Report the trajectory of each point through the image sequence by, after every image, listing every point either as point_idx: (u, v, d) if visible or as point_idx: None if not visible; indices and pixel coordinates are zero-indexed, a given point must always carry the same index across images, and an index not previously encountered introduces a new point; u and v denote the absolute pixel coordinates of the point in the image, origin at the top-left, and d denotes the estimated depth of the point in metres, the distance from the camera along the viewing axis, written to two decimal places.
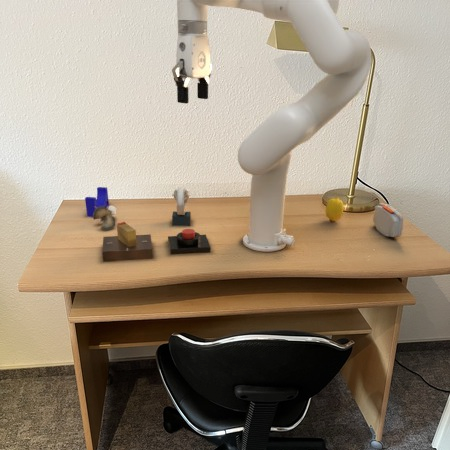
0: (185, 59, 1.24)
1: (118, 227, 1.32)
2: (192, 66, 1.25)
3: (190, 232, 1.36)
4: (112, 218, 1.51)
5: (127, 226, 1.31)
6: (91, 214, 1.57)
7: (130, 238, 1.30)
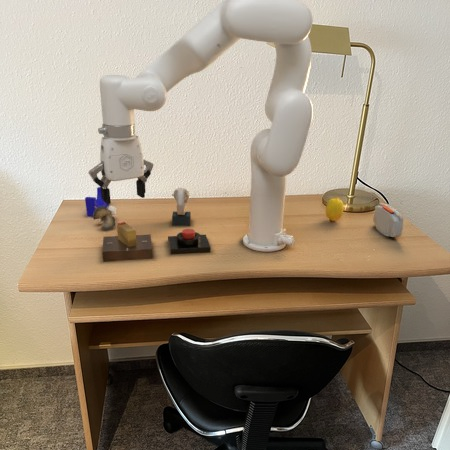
0: (104, 162, 1.19)
1: (118, 227, 1.32)
2: (110, 169, 1.19)
3: (190, 232, 1.36)
4: (112, 218, 1.51)
5: (127, 226, 1.31)
6: (91, 214, 1.57)
7: (130, 238, 1.30)
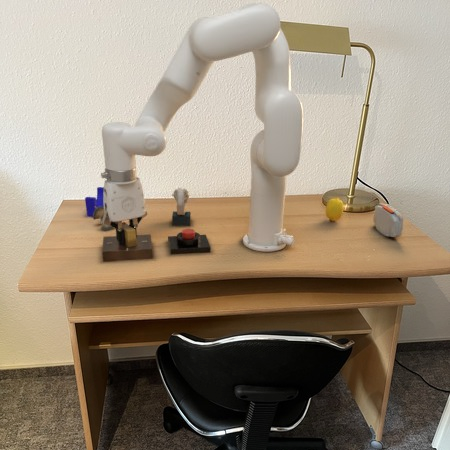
0: (107, 204, 1.24)
1: None
2: (113, 211, 1.24)
3: (190, 232, 1.36)
4: None
5: (127, 226, 1.31)
6: (91, 214, 1.57)
7: (130, 238, 1.30)
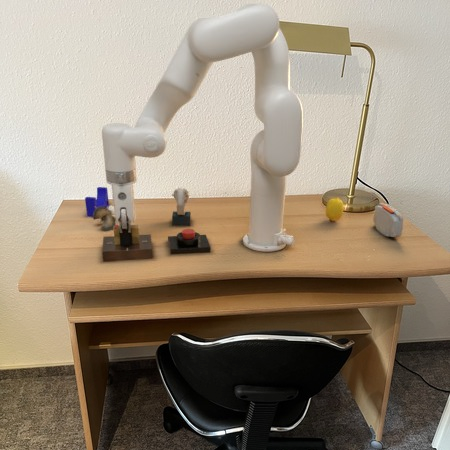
0: (127, 207, 1.23)
1: (117, 231, 1.30)
2: (134, 212, 1.25)
3: (190, 232, 1.36)
4: (112, 218, 1.51)
5: None
6: (91, 214, 1.57)
7: (138, 234, 1.32)
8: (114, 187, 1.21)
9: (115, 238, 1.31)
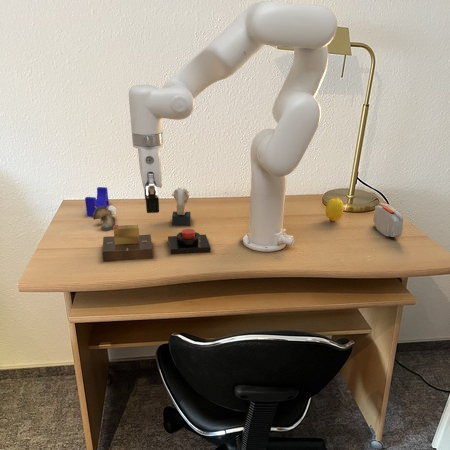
0: (154, 171, 1.21)
1: (117, 231, 1.30)
2: (161, 177, 1.23)
3: (190, 232, 1.36)
4: (112, 218, 1.51)
5: (126, 226, 1.31)
6: (91, 214, 1.57)
7: (138, 234, 1.32)
8: (141, 151, 1.19)
9: (115, 238, 1.31)
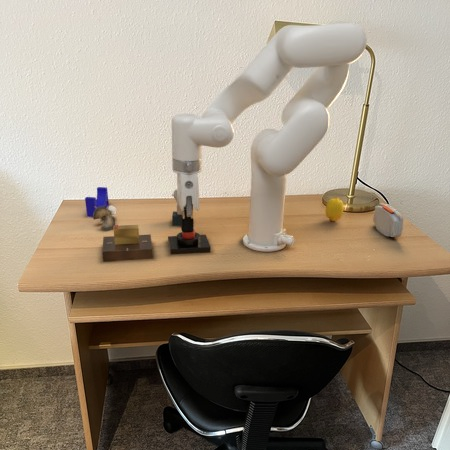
0: (193, 195, 1.26)
1: (117, 231, 1.30)
2: (198, 200, 1.28)
3: (190, 232, 1.36)
4: (112, 218, 1.51)
5: (126, 226, 1.31)
6: (91, 214, 1.57)
7: (138, 234, 1.32)
8: (181, 176, 1.24)
9: (115, 238, 1.31)
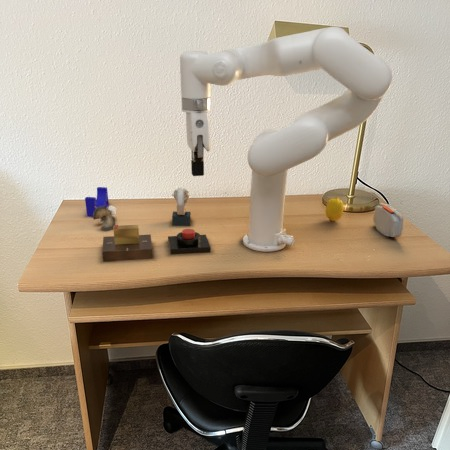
0: (204, 135, 1.26)
1: (117, 231, 1.30)
2: (209, 140, 1.28)
3: (190, 232, 1.36)
4: (112, 218, 1.51)
5: (126, 226, 1.31)
6: (91, 214, 1.57)
7: (138, 234, 1.32)
8: (192, 114, 1.24)
9: (115, 238, 1.31)
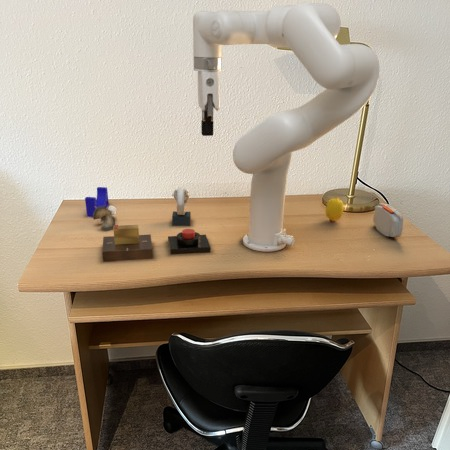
0: (214, 93, 1.31)
1: (117, 231, 1.30)
2: None
3: (190, 232, 1.36)
4: (112, 218, 1.51)
5: (126, 226, 1.31)
6: (91, 214, 1.57)
7: (138, 234, 1.32)
8: (203, 73, 1.29)
9: (115, 238, 1.31)
